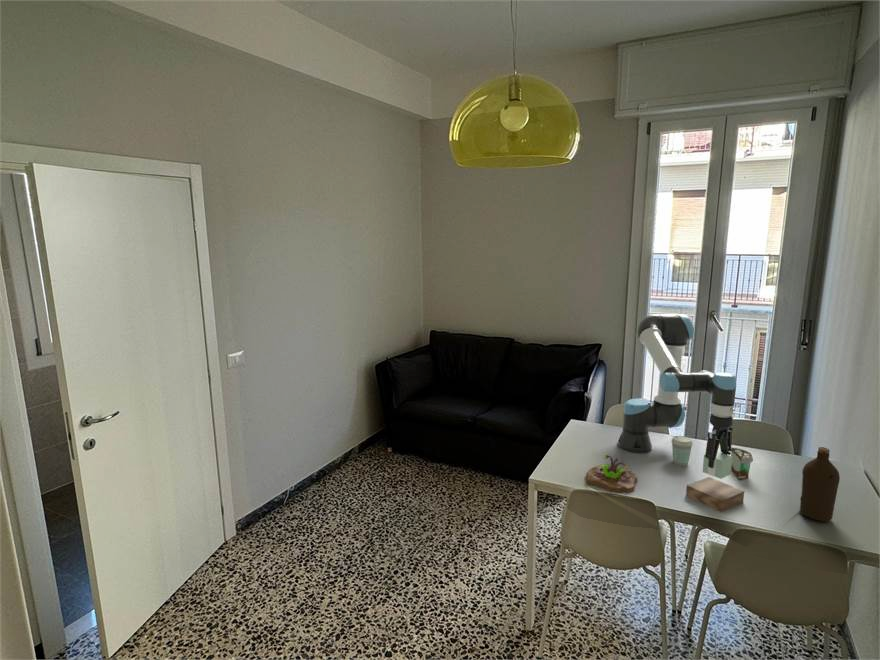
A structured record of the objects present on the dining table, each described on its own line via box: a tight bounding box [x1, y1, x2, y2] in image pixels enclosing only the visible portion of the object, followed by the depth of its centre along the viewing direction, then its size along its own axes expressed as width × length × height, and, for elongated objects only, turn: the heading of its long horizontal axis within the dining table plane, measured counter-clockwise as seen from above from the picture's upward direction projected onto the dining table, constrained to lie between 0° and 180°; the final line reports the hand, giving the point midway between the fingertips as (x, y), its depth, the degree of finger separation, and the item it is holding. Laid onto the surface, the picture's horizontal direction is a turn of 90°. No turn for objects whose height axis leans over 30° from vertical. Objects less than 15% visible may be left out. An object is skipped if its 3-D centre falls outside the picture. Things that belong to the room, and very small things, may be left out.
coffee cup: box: [671, 435, 694, 467], centre depth 222 cm, size 8×8×12 cm
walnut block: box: [685, 476, 745, 513], centre depth 192 cm, size 14×14×5 cm
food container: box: [730, 447, 754, 481], centre depth 211 cm, size 12×6×10 cm, turn 168°
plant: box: [585, 454, 638, 494], centre depth 208 cm, size 20×20×11 cm
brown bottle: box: [799, 446, 841, 522], centre depth 179 cm, size 11×11×25 cm
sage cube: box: [702, 451, 732, 480], centre depth 190 cm, size 7×7×7 cm
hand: (716, 472), depth 190 cm, fingers closed on sage cube, 7 cm apart
